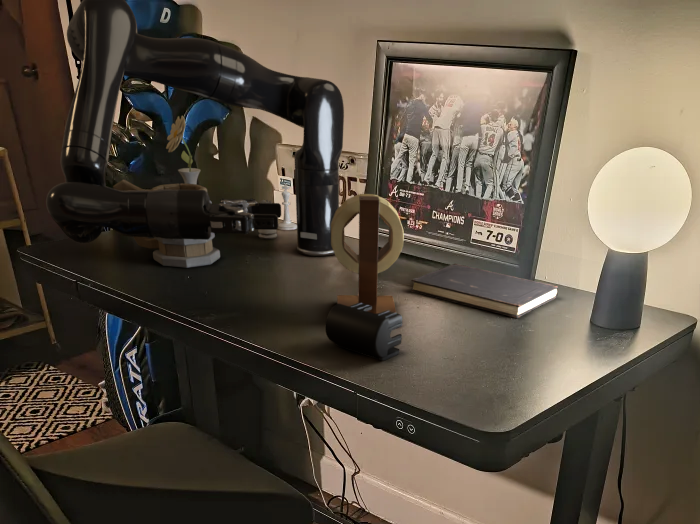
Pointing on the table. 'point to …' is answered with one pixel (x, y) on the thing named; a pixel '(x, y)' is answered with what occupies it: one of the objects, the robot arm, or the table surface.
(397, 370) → the table surface
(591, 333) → the table surface
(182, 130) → the flower in vase
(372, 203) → the stand
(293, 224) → the chess piece
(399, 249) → the masking tape
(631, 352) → the table surface
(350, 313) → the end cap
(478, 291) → the hardcover book
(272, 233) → the rook chess piece
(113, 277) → the table surface
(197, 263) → the tankard
